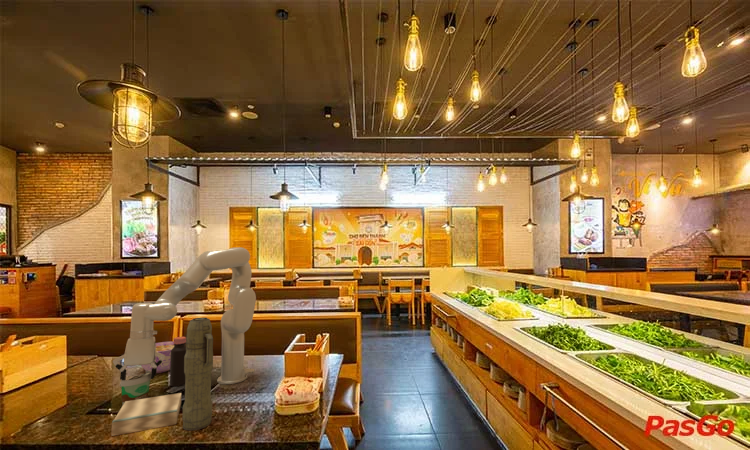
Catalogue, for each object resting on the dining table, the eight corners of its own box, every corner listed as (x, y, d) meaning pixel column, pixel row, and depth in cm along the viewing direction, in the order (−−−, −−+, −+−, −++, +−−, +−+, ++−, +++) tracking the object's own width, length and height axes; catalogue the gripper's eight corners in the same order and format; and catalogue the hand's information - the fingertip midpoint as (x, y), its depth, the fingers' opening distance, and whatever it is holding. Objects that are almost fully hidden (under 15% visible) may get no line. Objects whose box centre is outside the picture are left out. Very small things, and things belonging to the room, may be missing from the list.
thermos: (200, 433, 113) (202, 322, 115) (173, 427, 117) (176, 320, 120) (221, 420, 121) (223, 317, 124) (195, 415, 125) (197, 315, 128)
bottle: (190, 381, 159) (191, 336, 161) (180, 387, 152) (182, 339, 154) (176, 381, 160) (177, 336, 161) (166, 386, 153) (167, 339, 155)
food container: (132, 409, 131) (133, 381, 132) (118, 408, 132) (119, 380, 133) (159, 396, 143) (159, 370, 144) (146, 395, 144) (147, 369, 145)
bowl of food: (168, 377, 165) (169, 352, 166) (126, 377, 165) (127, 352, 166) (191, 363, 185) (192, 341, 186) (153, 364, 185) (154, 341, 186)
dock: (181, 403, 136) (181, 392, 136) (176, 424, 119) (176, 410, 119) (125, 412, 128) (125, 400, 129) (111, 436, 112) (111, 421, 112)
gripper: (167, 331, 146) (165, 374, 145) (117, 334, 139) (114, 379, 138) (165, 335, 140) (162, 379, 138) (112, 338, 133) (108, 385, 131)
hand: (138, 379), depth 138 cm, fingers open, 9 cm apart
